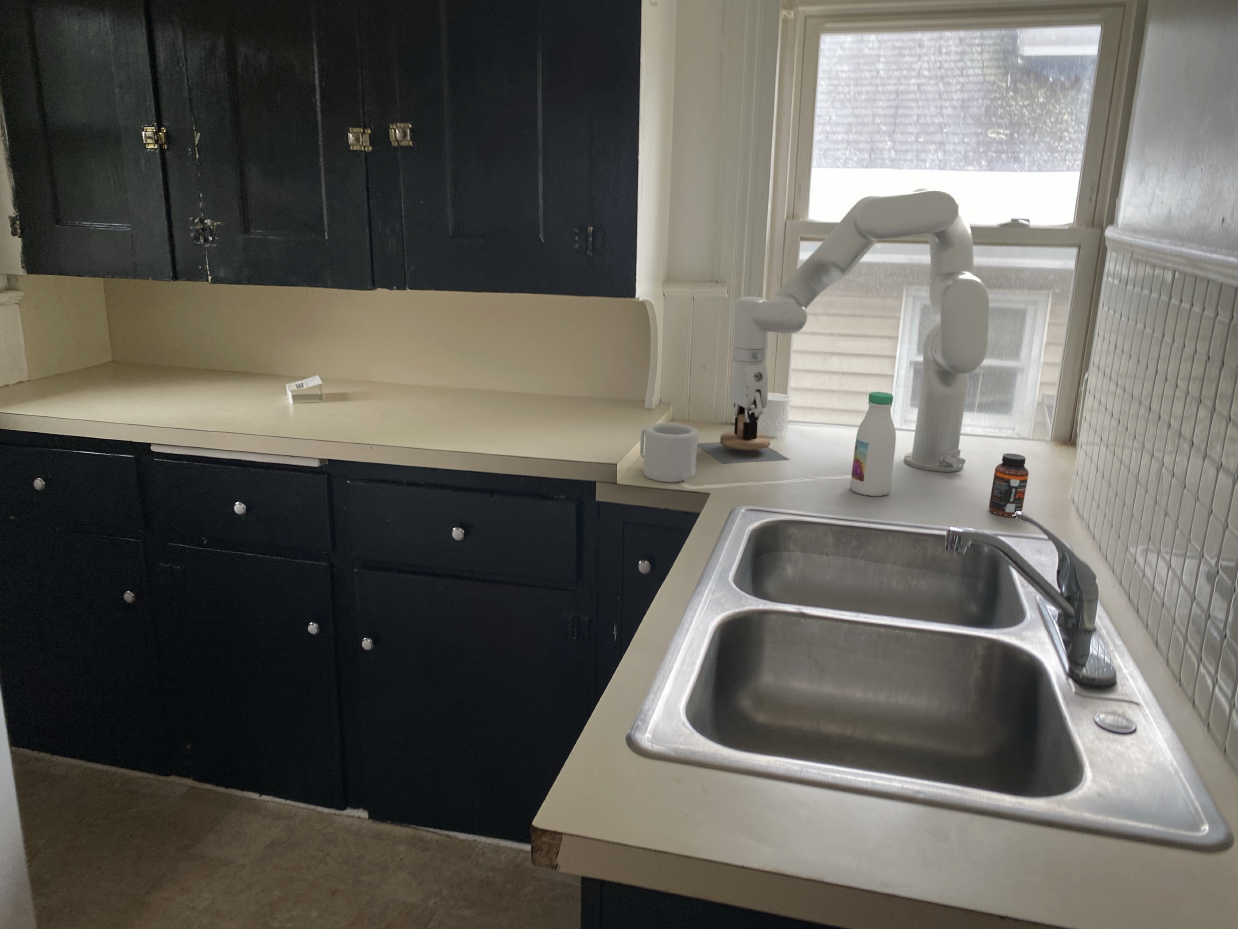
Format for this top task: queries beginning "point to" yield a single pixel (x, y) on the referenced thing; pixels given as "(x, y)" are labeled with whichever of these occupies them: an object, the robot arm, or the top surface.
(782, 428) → the white cup
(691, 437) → the mug
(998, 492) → the supplement bottle
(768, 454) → the mat
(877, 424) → the milk bottle
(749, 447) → the wooden lid
